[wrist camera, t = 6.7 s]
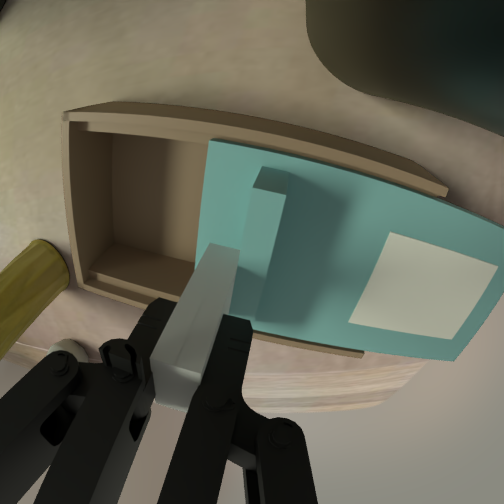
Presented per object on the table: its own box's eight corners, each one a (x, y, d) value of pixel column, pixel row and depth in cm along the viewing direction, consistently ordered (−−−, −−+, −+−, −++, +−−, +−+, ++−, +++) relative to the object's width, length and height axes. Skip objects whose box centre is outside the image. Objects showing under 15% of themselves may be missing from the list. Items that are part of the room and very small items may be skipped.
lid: (213, 137, 13) (185, 155, 10) (525, 236, 12) (556, 269, 9) (194, 306, 19) (175, 349, 15) (451, 354, 18) (464, 392, 15)
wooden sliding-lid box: (111, 101, 17) (61, 112, 12) (413, 161, 16) (448, 188, 12) (112, 250, 23) (78, 287, 19) (353, 307, 22) (361, 358, 18)
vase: (71, 256, 24) (-26, 364, 12) (70, 298, 27) (-5, 397, 15) (29, 228, 24) (-69, 317, 11) (30, 272, 27) (-47, 357, 15)
